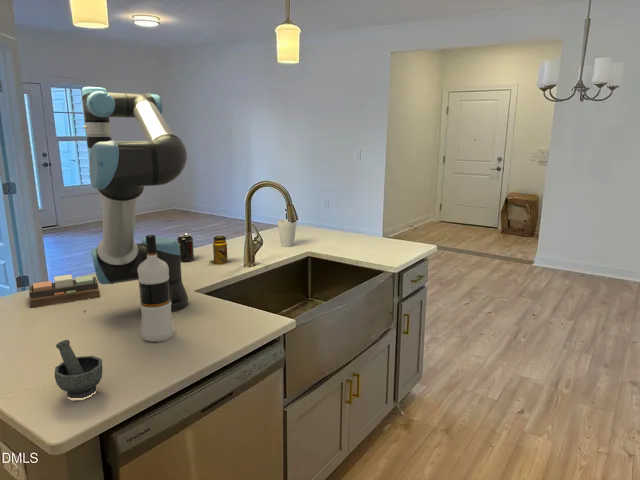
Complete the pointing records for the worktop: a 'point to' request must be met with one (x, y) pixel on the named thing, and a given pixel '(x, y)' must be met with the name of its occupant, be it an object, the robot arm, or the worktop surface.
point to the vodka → (155, 296)
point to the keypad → (63, 294)
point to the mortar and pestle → (77, 372)
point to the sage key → (84, 280)
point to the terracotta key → (42, 286)
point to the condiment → (219, 251)
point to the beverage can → (186, 247)
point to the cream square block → (63, 281)
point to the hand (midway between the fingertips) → (106, 206)
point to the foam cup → (286, 232)
